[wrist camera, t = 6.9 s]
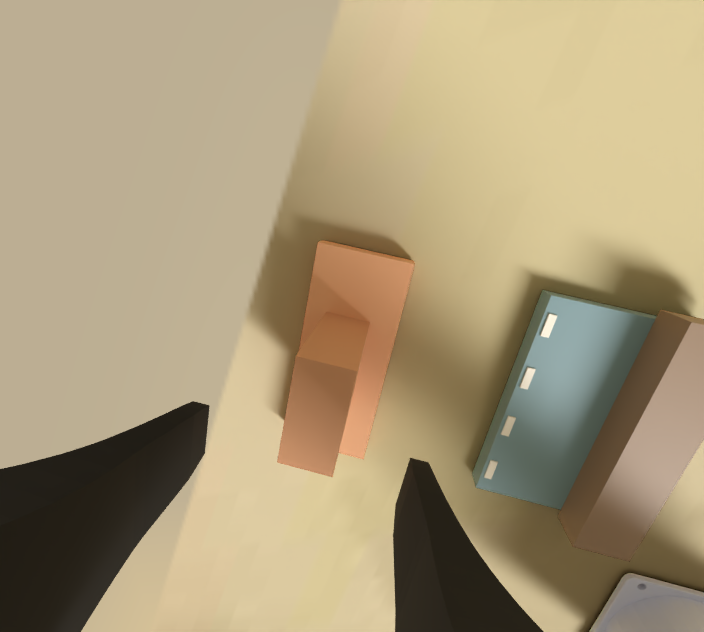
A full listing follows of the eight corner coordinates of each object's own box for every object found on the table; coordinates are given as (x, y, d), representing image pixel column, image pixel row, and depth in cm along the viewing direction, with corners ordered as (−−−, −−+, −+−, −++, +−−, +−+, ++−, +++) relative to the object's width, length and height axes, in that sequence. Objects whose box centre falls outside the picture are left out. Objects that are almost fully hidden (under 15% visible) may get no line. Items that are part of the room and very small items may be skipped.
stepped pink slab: (414, 260, 19) (421, 291, 13) (365, 446, 23) (350, 548, 16) (322, 239, 20) (281, 258, 13) (288, 426, 23) (242, 518, 17)
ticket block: (705, 316, 19) (764, 338, 16) (598, 513, 23) (629, 561, 20) (545, 280, 19) (573, 295, 16) (469, 479, 23) (480, 521, 20)
